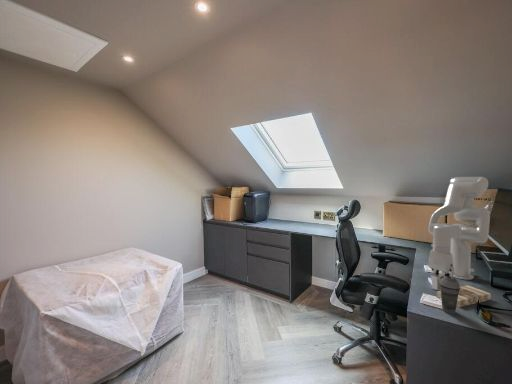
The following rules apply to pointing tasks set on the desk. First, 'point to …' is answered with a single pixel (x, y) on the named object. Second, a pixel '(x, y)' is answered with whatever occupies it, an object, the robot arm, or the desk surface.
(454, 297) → the beverage cup
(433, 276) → the clip
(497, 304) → the desk surface
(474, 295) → the slatted wooden pallet
